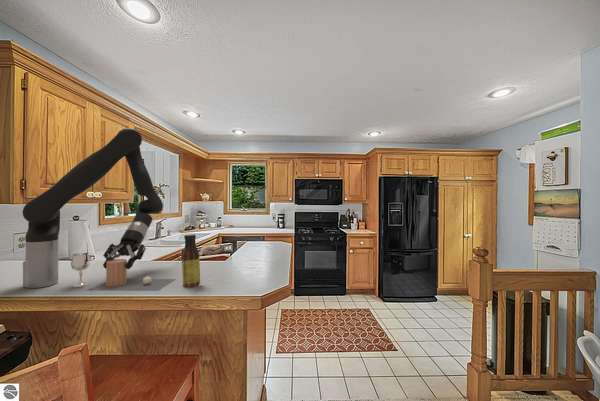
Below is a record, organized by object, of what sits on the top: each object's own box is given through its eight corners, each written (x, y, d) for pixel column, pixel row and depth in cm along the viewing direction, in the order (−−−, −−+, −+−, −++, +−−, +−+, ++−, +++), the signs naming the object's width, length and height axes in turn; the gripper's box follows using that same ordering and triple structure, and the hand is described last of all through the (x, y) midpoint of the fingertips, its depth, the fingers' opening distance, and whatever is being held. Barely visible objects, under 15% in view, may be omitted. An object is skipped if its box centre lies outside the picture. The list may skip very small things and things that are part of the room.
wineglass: (79, 288, 100) (79, 256, 100) (66, 286, 102) (66, 255, 102) (93, 283, 106) (93, 253, 106) (82, 282, 107) (82, 252, 107)
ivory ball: (141, 285, 102) (141, 277, 102) (145, 283, 105) (145, 275, 105) (148, 285, 102) (148, 277, 102) (153, 283, 105) (153, 275, 105)
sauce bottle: (203, 284, 105) (203, 234, 105) (190, 289, 99) (191, 236, 99) (191, 282, 108) (191, 233, 108) (178, 287, 102) (178, 235, 102)
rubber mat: (86, 291, 97) (86, 290, 97) (113, 279, 111) (113, 278, 111) (158, 292, 97) (158, 290, 97) (176, 280, 111) (176, 279, 111)
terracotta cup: (102, 286, 101) (102, 262, 101) (114, 281, 107) (114, 258, 107) (119, 286, 101) (119, 262, 101) (130, 281, 107) (130, 259, 107)
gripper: (114, 228, 112) (92, 262, 101) (147, 229, 112) (130, 262, 101) (122, 239, 118) (103, 272, 106) (154, 239, 118) (138, 273, 106)
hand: (116, 267), depth 104 cm, fingers open, 8 cm apart
